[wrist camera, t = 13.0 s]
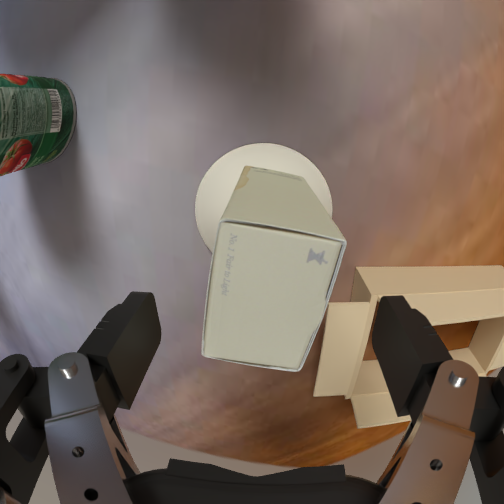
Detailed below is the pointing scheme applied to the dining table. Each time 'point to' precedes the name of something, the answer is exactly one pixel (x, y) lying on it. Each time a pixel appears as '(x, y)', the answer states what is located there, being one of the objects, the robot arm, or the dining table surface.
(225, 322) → the skincare box
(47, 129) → the canned tomato
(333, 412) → the dining table surface
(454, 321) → the carton
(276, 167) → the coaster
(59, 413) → the robot arm
